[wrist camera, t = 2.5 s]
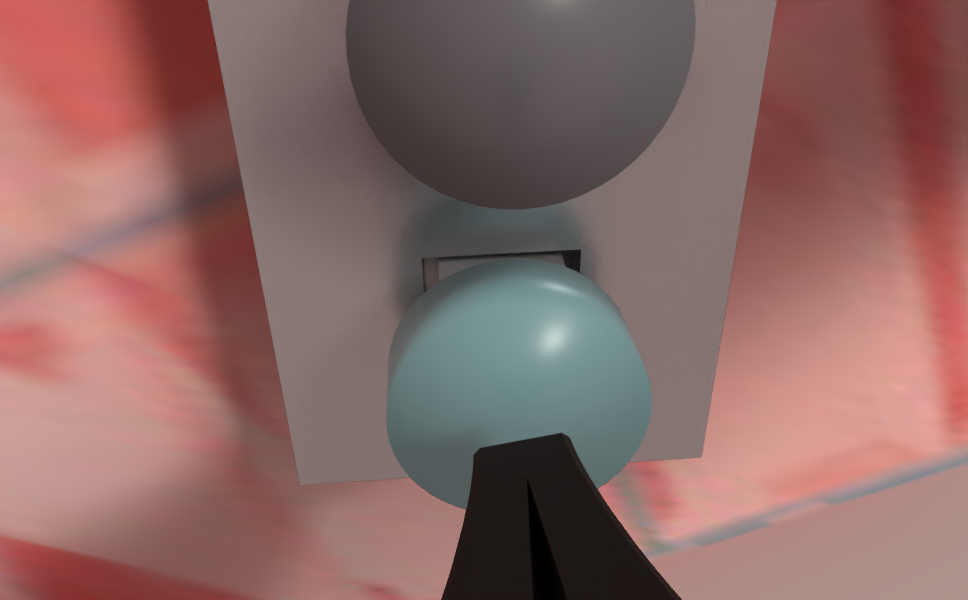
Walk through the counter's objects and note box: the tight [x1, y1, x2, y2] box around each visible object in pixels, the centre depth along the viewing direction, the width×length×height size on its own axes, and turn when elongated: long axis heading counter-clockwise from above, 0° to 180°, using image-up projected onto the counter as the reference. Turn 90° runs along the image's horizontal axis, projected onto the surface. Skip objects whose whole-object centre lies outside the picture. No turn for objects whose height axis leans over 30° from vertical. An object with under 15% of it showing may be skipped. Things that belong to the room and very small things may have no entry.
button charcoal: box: [346, 0, 696, 209], centre depth 12 cm, size 4×4×4 cm
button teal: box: [386, 251, 652, 509], centre depth 15 cm, size 4×4×4 cm
